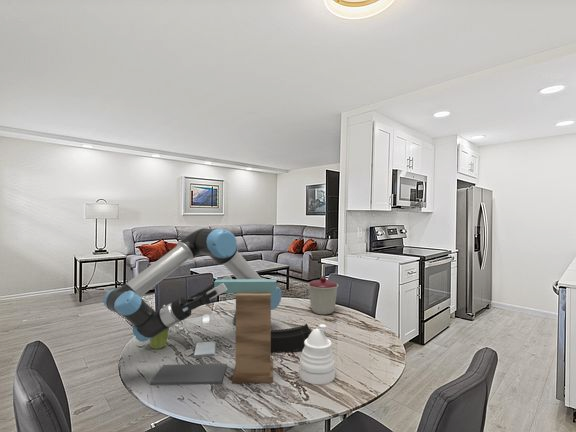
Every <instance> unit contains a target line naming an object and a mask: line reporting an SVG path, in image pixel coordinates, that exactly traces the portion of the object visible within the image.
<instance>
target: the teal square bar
mask: <svg viewBox="0 0 576 432" xmlns="http://www.w3.org/2000/svg"><path fill="white" fill-rule="evenodd" d="M213 282H214V288H215V287H217V286H219V285H220V284H222V283H224V285H225V286H226V288H227V291H225V292H223V293H222V294H236V293H276V286H277V279H276V278H273V279H270V278H269V279H267V278H265V279H237V278H236V279H234V278H232V279H223V278H221V279H220V278H219V279H218V278H217V279H215V281H213Z"/></svg>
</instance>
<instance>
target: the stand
mask: <svg viewBox="0 0 576 432" xmlns="http://www.w3.org/2000/svg"><path fill="white" fill-rule="evenodd" d="M235 312H236V325H235V351H234V352H235V353H234V354H235V366H234V369H233V374H232V376H231V384H268V383H269V384H273V383H274V360H273V359H272V358H271V354H272V353H271V330H272V329H271V328H272V327H271V326H272V325H271V324H272V310H271V293H237V294H236V293H235Z"/></svg>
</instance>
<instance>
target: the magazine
mask: <svg viewBox="0 0 576 432" xmlns="http://www.w3.org/2000/svg"><path fill="white" fill-rule="evenodd" d="M312 331H313V329H312V327H311V326H309V324H308V323H305V324H304V325H299V326H295V327H290V328H283V329H271V354H279V353H280V354H282V353H284V354H285V353H291V352H296V351H301V350H302V351H303V349H304V346H305V344H304V341H305V340H306V339H307V338H308V337H309V335H310V333H311V332H312Z"/></svg>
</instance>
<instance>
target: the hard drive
mask: <svg viewBox="0 0 576 432" xmlns="http://www.w3.org/2000/svg"><path fill="white" fill-rule="evenodd" d="M195 345H196V346H195V350H194V352H193V359H197V358H196V357H199V358H207V357H208V358H210V357H215V355H216V354H215V353H216V341H215V340H214V341H213V340H211V341H203V342H202V341H201V342H196V344H195Z"/></svg>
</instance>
